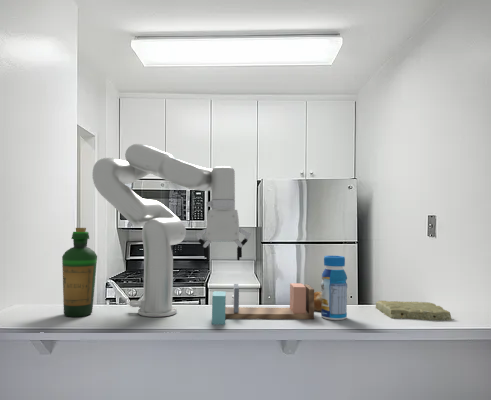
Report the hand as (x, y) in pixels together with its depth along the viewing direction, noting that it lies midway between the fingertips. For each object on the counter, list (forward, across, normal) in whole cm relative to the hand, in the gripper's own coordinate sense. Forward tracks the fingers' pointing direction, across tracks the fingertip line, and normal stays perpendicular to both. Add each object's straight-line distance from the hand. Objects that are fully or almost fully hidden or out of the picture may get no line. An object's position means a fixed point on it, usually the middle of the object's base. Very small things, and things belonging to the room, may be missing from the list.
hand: (223, 260), depth 137 cm
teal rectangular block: (+19, -1, -1) cm, 19 cm away
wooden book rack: (+19, +14, +8) cm, 25 cm away
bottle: (+18, -47, +4) cm, 51 cm away
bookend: (+17, +4, +8) cm, 19 cm away
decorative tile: (+21, +64, +15) cm, 69 cm away
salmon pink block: (+18, +24, +9) cm, 31 cm away
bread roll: (+20, +33, +20) cm, 43 cm away
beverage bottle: (+20, +36, +6) cm, 41 cm away
